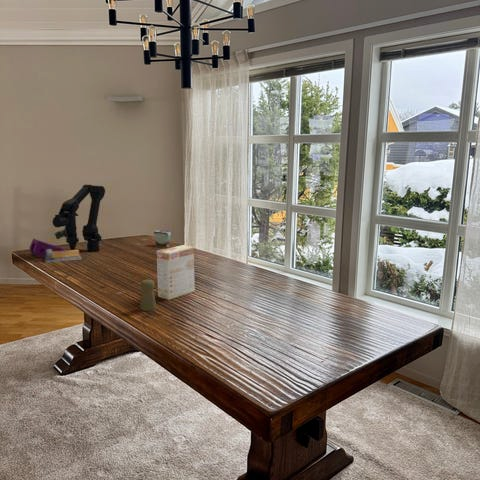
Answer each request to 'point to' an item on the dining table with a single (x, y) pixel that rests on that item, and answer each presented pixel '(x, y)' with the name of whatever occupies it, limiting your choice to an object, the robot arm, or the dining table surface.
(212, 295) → the dining table surface
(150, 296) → the olive green upright piece
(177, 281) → the coffeecake box
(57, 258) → the chassis plate
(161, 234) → the food container
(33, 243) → the mounting bracket
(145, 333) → the dining table surface
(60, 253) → the swing arm
